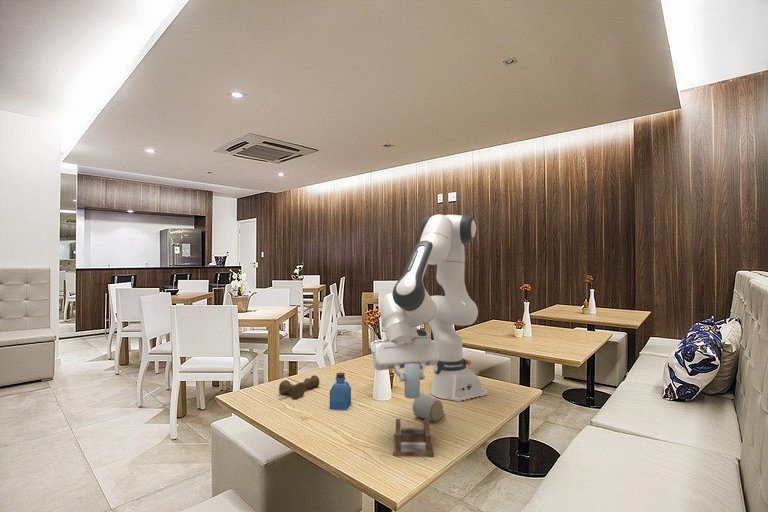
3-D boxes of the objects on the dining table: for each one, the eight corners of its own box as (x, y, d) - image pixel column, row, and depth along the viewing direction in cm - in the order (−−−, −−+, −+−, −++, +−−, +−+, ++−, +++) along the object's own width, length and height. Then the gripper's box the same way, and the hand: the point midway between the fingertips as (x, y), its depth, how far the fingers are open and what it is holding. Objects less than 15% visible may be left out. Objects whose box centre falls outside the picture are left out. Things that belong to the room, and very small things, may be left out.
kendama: (324, 389, 159) (287, 403, 143) (308, 386, 165) (270, 398, 148) (324, 375, 160) (287, 387, 143) (308, 372, 165) (270, 383, 149)
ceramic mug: (431, 425, 123) (431, 401, 123) (412, 418, 129) (412, 395, 129) (450, 416, 131) (450, 394, 131) (430, 410, 136) (431, 388, 137)
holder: (430, 437, 115) (430, 419, 115) (433, 456, 104) (433, 436, 104) (393, 437, 115) (393, 418, 115) (393, 455, 104) (393, 435, 104)
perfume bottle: (346, 410, 136) (346, 376, 136) (329, 409, 137) (329, 375, 137) (351, 404, 142) (351, 371, 142) (335, 402, 143) (335, 370, 143)
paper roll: (416, 392, 112) (416, 361, 113) (422, 397, 108) (422, 365, 108) (402, 394, 111) (402, 363, 111) (407, 399, 107) (407, 367, 107)
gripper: (370, 335, 113) (380, 377, 104) (433, 331, 120) (448, 370, 110) (367, 346, 118) (376, 388, 108) (427, 342, 124) (441, 381, 114)
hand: (412, 379), depth 109 cm, fingers closed on paper roll, 4 cm apart
